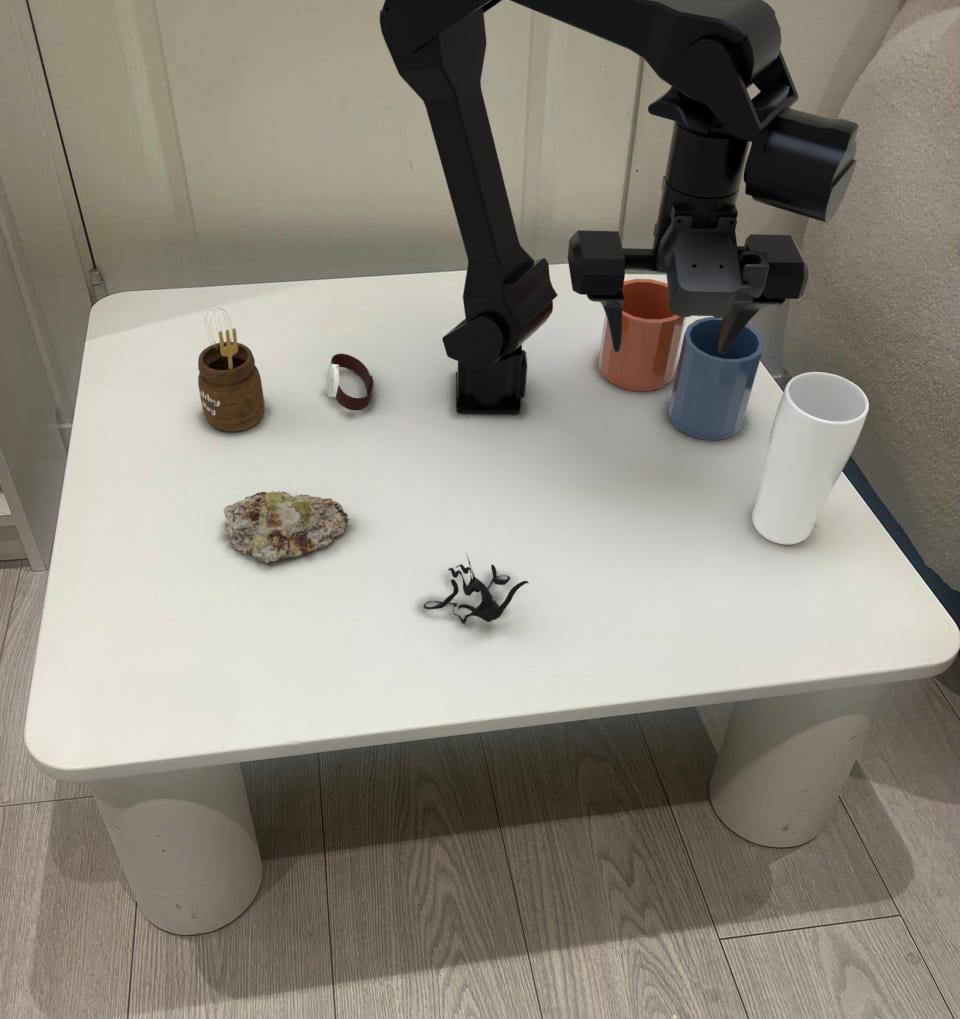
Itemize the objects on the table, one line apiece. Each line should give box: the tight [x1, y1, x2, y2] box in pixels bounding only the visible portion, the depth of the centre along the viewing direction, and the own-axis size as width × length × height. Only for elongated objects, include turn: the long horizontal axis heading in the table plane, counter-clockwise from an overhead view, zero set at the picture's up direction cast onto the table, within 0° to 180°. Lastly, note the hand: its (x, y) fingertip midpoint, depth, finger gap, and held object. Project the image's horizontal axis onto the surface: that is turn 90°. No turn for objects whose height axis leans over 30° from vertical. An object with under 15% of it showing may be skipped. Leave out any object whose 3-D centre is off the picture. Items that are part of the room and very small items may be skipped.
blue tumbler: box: [668, 316, 765, 441], centre depth 99 cm, size 7×7×10 cm
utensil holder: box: [197, 307, 265, 432], centre depth 96 cm, size 6×6×12 cm
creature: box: [423, 552, 530, 624], centre depth 82 cm, size 8×5×8 cm
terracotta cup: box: [598, 278, 687, 392], centre depth 105 cm, size 8×8×8 cm
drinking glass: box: [751, 371, 870, 546], centre depth 86 cm, size 7×7×15 cm
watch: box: [325, 353, 375, 412], centre depth 102 cm, size 8×5×4 cm, turn 16°
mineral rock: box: [223, 490, 350, 564], centre depth 88 cm, size 11×4×8 cm
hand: (668, 350), depth 88 cm, fingers open, 9 cm apart
